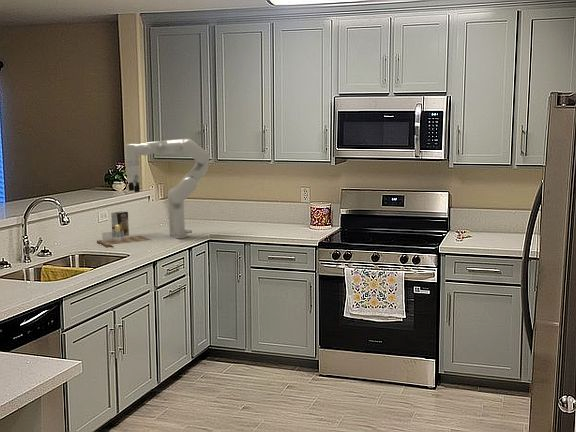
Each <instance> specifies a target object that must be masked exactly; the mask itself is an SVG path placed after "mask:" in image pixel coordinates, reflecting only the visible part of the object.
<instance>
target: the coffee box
mask: <svg viewBox="0 0 576 432" xmlns="http://www.w3.org/2000/svg"><path fill="white" fill-rule="evenodd" d="M116 224H120V230H122V231H124V237H127V236H128V237H129V236H130V229H129V227H130V226H129V212H128V211H118V212H117V211H116V212H111V230H112V229H114V230H115V225H116Z"/></svg>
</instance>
